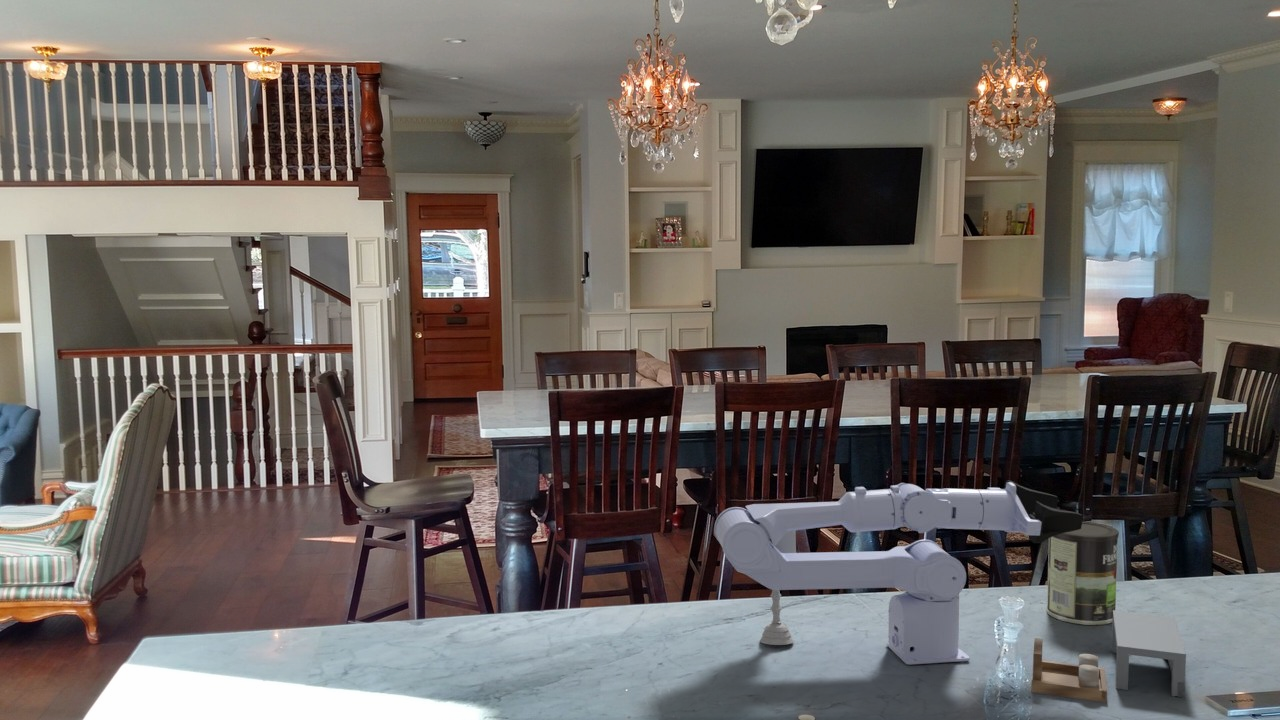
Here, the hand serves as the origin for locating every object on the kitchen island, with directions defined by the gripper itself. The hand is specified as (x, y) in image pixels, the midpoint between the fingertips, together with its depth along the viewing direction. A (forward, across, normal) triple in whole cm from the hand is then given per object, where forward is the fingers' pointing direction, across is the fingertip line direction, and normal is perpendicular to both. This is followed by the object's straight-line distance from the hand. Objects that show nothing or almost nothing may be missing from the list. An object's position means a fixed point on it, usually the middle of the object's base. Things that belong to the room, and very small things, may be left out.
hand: (1068, 512), depth 147 cm
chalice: (-40, +3, +23) cm, 46 cm away
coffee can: (+11, +12, +21) cm, 27 cm away
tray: (-4, -15, +19) cm, 25 cm away
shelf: (+8, -11, +19) cm, 23 cm away
